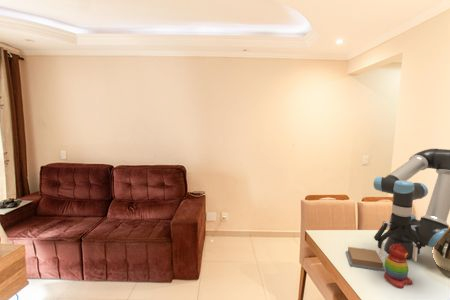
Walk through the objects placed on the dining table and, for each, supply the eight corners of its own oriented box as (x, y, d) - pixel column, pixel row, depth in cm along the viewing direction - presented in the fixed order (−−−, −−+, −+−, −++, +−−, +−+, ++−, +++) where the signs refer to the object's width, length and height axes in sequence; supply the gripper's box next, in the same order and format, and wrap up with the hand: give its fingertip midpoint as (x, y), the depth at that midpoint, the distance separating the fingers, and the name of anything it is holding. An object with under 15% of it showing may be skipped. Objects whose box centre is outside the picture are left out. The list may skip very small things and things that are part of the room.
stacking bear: (399, 289, 112) (403, 252, 110) (378, 276, 121) (380, 242, 119) (414, 283, 116) (417, 247, 114) (392, 271, 125) (395, 238, 123)
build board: (377, 257, 138) (377, 250, 138) (384, 271, 125) (385, 264, 124) (345, 252, 143) (346, 246, 142) (350, 266, 130) (350, 258, 129)
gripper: (429, 214, 114) (425, 257, 117) (369, 208, 122) (366, 249, 124) (437, 220, 107) (433, 266, 109) (373, 213, 115) (369, 256, 117)
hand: (397, 257), depth 117 cm, fingers open, 13 cm apart
